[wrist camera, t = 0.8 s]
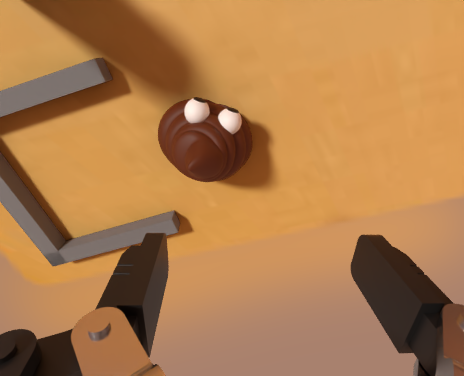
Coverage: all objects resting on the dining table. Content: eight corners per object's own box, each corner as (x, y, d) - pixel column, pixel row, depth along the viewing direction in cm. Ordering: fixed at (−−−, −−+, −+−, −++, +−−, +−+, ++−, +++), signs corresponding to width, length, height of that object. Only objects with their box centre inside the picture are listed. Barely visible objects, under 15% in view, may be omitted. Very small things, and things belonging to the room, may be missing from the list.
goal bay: (102, 57, 26) (94, 58, 24) (180, 223, 35) (178, 232, 33) (-52, 110, 28) (-71, 115, 26) (60, 255, 37) (52, 266, 35)
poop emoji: (154, 157, 31) (131, 199, 23) (169, 81, 27) (148, 96, 19) (237, 180, 33) (244, 225, 25) (262, 110, 29) (280, 136, 21)
